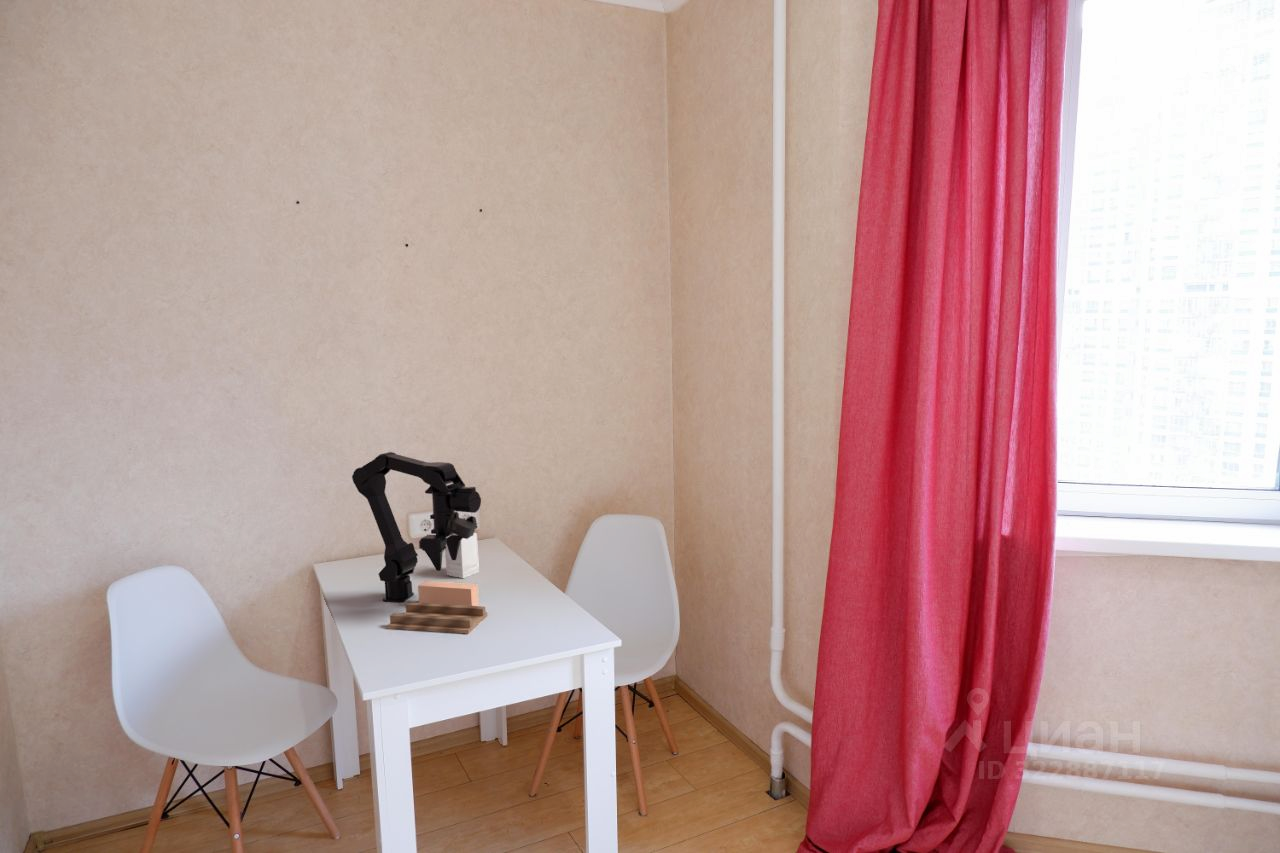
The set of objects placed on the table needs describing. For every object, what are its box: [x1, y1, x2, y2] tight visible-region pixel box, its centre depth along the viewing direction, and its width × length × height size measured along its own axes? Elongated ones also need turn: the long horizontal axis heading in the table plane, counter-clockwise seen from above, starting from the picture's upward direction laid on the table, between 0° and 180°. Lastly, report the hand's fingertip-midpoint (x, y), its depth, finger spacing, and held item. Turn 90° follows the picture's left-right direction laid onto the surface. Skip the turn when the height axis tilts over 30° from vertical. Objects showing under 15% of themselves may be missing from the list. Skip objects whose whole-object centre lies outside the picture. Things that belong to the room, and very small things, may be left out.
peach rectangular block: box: [417, 580, 480, 606], centre depth 208 cm, size 16×4×6 cm, turn 76°
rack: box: [387, 601, 489, 635], centre depth 196 cm, size 22×12×3 cm, turn 78°
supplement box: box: [444, 532, 480, 579], centre depth 234 cm, size 7×7×13 cm
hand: (446, 565), depth 207 cm, fingers open, 9 cm apart
